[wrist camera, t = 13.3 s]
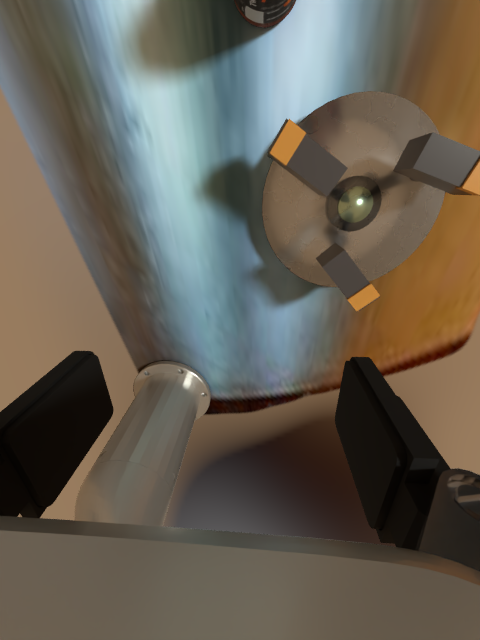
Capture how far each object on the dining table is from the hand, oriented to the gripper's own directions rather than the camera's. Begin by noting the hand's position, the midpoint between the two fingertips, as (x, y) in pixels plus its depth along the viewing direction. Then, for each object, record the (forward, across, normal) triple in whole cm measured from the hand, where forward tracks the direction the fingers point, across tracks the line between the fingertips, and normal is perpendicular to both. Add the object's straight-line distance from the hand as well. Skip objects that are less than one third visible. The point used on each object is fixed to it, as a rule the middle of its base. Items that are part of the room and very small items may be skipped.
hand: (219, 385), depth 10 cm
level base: (+24, -11, -6) cm, 27 cm away
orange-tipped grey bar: (+22, -5, -9) cm, 24 cm away
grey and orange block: (+22, -17, -9) cm, 29 cm away
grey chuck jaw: (+22, -10, +1) cm, 24 cm away
